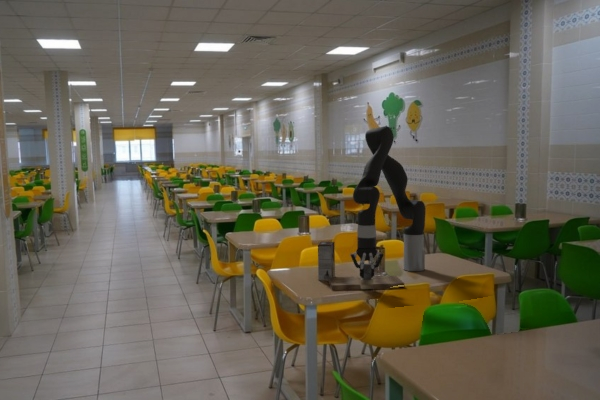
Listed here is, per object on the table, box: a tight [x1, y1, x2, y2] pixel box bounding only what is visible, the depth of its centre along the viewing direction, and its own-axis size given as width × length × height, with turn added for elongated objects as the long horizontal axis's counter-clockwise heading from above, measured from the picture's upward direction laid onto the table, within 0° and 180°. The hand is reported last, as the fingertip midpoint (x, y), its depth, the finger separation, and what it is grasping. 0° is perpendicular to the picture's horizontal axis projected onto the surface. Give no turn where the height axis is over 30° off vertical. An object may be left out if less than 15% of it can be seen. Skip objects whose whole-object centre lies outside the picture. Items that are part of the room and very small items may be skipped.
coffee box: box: [317, 241, 336, 282], centre depth 235 cm, size 9×6×16 cm
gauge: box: [358, 263, 374, 290], centre depth 219 cm, size 5×13×10 cm, turn 3°
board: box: [327, 275, 405, 291], centre depth 222 cm, size 30×14×2 cm, turn 93°
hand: (366, 277), depth 214 cm, fingers closed on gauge, 3 cm apart
